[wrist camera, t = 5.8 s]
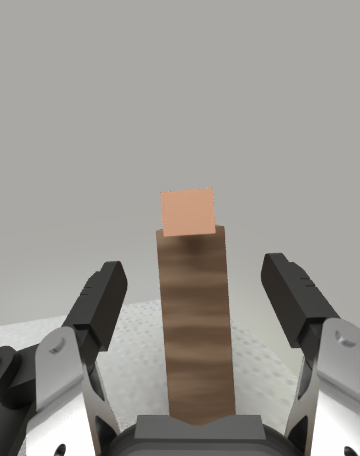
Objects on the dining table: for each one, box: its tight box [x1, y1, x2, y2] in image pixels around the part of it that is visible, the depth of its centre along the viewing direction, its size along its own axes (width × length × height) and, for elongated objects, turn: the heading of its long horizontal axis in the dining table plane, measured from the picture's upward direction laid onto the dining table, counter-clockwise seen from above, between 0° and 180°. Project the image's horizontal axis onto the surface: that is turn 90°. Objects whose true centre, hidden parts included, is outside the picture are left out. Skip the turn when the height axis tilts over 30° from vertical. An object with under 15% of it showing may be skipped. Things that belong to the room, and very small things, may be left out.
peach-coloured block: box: [161, 188, 215, 237], centre depth 24 cm, size 24×4×3 cm, turn 177°
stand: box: [156, 225, 236, 427], centre depth 30 cm, size 16×8×32 cm, turn 177°
